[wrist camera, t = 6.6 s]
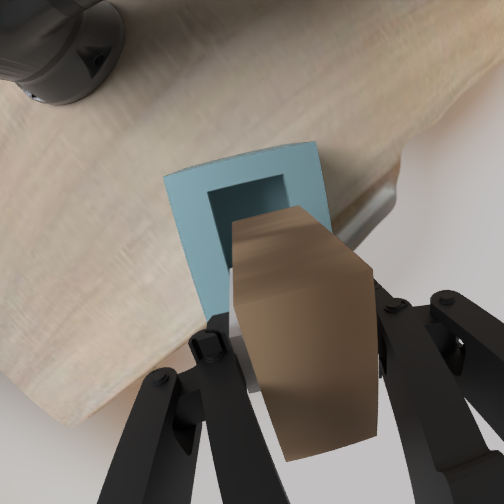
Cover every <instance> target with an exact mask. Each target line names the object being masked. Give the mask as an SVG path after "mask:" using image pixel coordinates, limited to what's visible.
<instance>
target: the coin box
mask: <svg viewBox="0 0 504 504" xmlns="http://www.w3.org/2000/svg"><path fill="white" fill-rule="evenodd" d="M163 179H164V183H165V186H166V190H167V194H168V197H169V201H170V205H171V208H172V212H173V215H174V219H175V222H176V226H177V229H178V232H179V236H180V239H181V243H182V246H183V249H184V252H185V256H186V259H187V262H188V265H189V269H190V272H191V275H192V278H193V281H194V284H195V287H196V290H197V293H198V296H199V299H200V302H201V305H202V308H203V311H204V314H205V317H206V320H207V322H208V321H209V319H210V318H211V317H212V316H213V315H217V314H221V313H225V312H229V288H230V268H233V263H232V222H234V221H238V220H242V219H245V218H249V217H253V216H257V215H261V214H265V213H269V212H273V211H277V210H281V209H285V208H289V207H293V206H297V205H300V206H301V207H302V208H303V209H304V210H306V211H307V212H308V213H309V214H310V215H312V216H313V217H314V218H315V219H316V220H317V221H319V222H320V223H321V224H322V225H323V226H324V227H326V228H327V229H328V230H329V231H330V232H331V233H332V227H331V221H330V215H329V209H328V203H327V197H326V191H325V186H324V180H323V175H322V170H321V165H320V160H319V155H318V150H317V145H316V141H314V142H302V143H292V144H285V145H280V146H275V147H271V148H266V149H261V150H257V151H252V152H248V153H243V154H239V155H235V156H231V157H226V158H222V159H218V160H214V161H210V162H207V163H203V164H199V165H195V166H191V167H188V168H184V169H182V170H179V171H177V172H174V173H172V174H169V175H167V176H164V177H163Z"/></svg>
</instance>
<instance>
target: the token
mask: <svg viewBox="0 0 504 504" xmlns="http://www.w3.org/2000/svg"><path fill="white" fill-rule="evenodd" d="M232 263H233V307H234V311H235V314H236V317H237V320H238V323H239V326H240V329H241V332H242V335H243V339H244V342H245V345H246V348H247V351H248V354H249V357H250V360H251V363H252V366H253V369H254V372H255V375H256V378H257V381H258V384H259V387H260V390H261V392H262V395H263V398H264V401H265V404H266V407H267V410H268V413H269V416H270V418H271V421H272V424H273V427H274V429H275V432H276V435H277V438H278V441H279V444H280V446H281V449H282V452H283V455H284V457H285V460H286V462H288V461H293V460H297V459H301V458H306V457H309V456H313V455H317V454H321V453H325V452H328V451H332V450H335V449H338V448H342V447H345V446H348V445H351V444H354V443H357V442H360V441H363V440H366V439H369V438H372V437H374V436H377V420H378V418H377V417H378V339H377V318H376V302H375V289H374V278H373V269H372V268H371V267H370V266H369V265H368V264H367V263H365V262H364V261H363V260H362V259H361V258H360V257H359V256H358V255H357V254H355V253H354V252H353V251H352V250H351V249H350V248H349V247H348V246H346V245H345V244H344V243H343V242H342V241H341V240H340V239H338V238H337V237H336V236H335V235H334V234H333V233H331V232H330V231H329V230H328V229H327V228H326V227H324V226H323V225H322V224H321V223H320V222H319V221H317V220H316V219H315V218H314V217H313V216H312V215H310V214H309V213H308V212H307V211H306V210H304V209H303V208H302V207H301V206H300V205H297V206H293V207H289V208H285V209H281V210H277V211H273V212H269V213H265V214H261V215H257V216H253V217H249V218H245V219H242V220H238V221H234V222H232Z"/></svg>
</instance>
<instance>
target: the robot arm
mask: <svg viewBox="0 0 504 504" xmlns="http://www.w3.org/2000/svg"><path fill="white" fill-rule="evenodd" d="M123 43H124V24H123V21H122V18H121V16H120V14H119V13H118V11H117V10H116V9H115V8H114V7H113V6H112V5H111V4H110V3H109V2H108V1H106V0H0V79H2V80H8V81H12V82H15V83H16V84H17V85H18V86H19V87H20V88H21V89H22V90H23V91H24V92H25V93H26V94H27V95H28V96H29V97H30V98H32V99H34V100H35V101H38V102H41V103H45V104H51V105H64V104H69V103H72V102H75V101H77V100H79V99H81V98H83V97H85V96H86V95H88V94H89V93H91V92H92V91H93V90H95V89H96V88H97V87H98V86H99V85H100V84H101V83H102V82H103V81H104V80H105V79H106V78H107V76H108V75H109V74H110V72H111V71H112V69H113V68H114V66H115V64H116V62H117V60H118V58H119V56H120V54H121V51H122V47H123ZM374 289H375V302H376V318H377V339H378V354H379V378H382V376H383V379H384V382H385V386H386V389H387V392H388V396H389V399H390V402H391V406H392V409H393V413H394V416H395V420H396V424H397V427H398V431H399V434H400V438H401V442H402V446H403V450H404V454H405V458H406V462H407V467H408V471H409V475H410V480H411V484H412V489H413V494H414V499H415V504H504V455H503V454H502V453H501V452H500V451H498V450H494V451H491V450H490V449H488V447H487V445H486V443H485V441H484V439H483V437H482V434H481V432H480V430H479V428H478V425H477V423H476V421H475V419H474V417H473V415H472V413H471V411H470V409H469V407H468V405H467V403H466V401H465V399H464V397H465V398H466V399H467V400H468V402H469V403H470V404H471V405H472V406H473V407H474V408H475V409H476V411H477V412H478V413H479V414H480V415H481V416H482V417H483V418H484V420H485V421H486V422H487V423H488V424H489V425H490V426H491V427H492V429H493V430H494V431H495V432H496V433H497V434H498V436H500V438H501V439H502V440H503V441H504V323H502V322H501V321H500V320H498V319H497V318H495V317H494V316H492V315H491V314H489V313H488V312H487V311H485V310H484V309H482V308H481V307H479V306H478V305H476V304H475V303H473V302H472V301H470V300H469V299H467V298H466V297H464V296H463V295H461V294H460V293H458V292H455V291H451V290H442V291H439V292H436V293H434V294H433V295H432V297H431V298H430V299H431V300H430V305H424V306H415V307H412V305H411V304H410V303H409V302H408V301H407V300H405V299H402V298H393V297H392V296H391V295H390V294H389V293H388V292H387V291H386V290H385V289H384V288H382V286H381V285H380V284H378V282H377V281H376V280H375V279H374ZM459 339H461V340H462V342H463V343H464V344H463V345H462V344H461V343H460V342H459ZM188 344H189V347H190V349H191V352H192V354H193V356H194V358H195V361H196V364H197V365H196V366H194V367H193V368H191V369H189V370H187V371H185V372H182V373H180V374H177V372H176V371H175V370H174V369H172V368H169V367H164V368H159V369H156V370H154V371H152V372H151V373H149V374H148V375H147V376H146V377H145V379H144V380H143V383H142V385H141V388H140V390H139V392H138V395H137V397H136V400H135V402H134V405H133V407H132V410H131V412H130V415H129V418H128V420H127V423H126V425H125V428H124V430H123V433H122V436H121V438H120V441H119V444H118V446H117V449H116V452H115V454H114V457H113V460H112V462H111V465H110V468H109V470H108V474H107V476H106V479H105V482H104V485H103V487H102V490H101V493H100V496H99V499H98V502H97V504H190V503H191V496H192V489H193V483H194V475H195V469H196V462H197V455H198V449H199V443H200V436H201V430H202V422H203V421H205V420H206V424H207V430H208V435H209V441H210V446H211V451H212V456H213V461H214V466H215V470H216V475H217V480H218V484H219V488H220V493H221V497H222V501H223V504H290V502H289V499H288V497H287V495H286V492H285V490H284V487H283V485H282V482H281V480H280V478H279V475H278V473H277V470H276V468H275V465H274V463H273V460H272V458H271V455H270V453H269V450H268V448H267V445H266V442H265V440H264V437H263V435H262V432H261V429H260V426H259V424H258V421H257V418H256V416H255V413H254V410H253V408H252V405H251V402H250V400H249V397H248V394H247V389H248V391H249V393H254V392H258V391H261V390H260V387H259V384H258V381H257V378H256V375H255V372H254V369H253V366H252V363H251V360H250V357H249V354H248V351H247V348H246V345H245V342H244V339H243V335H242V332H241V329H240V326H239V323H238V320H237V317H236V314H235V311H234V307H233V268H230V288H229V312H225V313H221V314H217V315H213V316H212V317H211V318H210V319H209V321H208V322H207V328H206V329H203V330H201V331H198V332H197V333H195V334H194V335H192V337H191V338H190V339H189V342H188ZM463 396H464V397H463Z"/></svg>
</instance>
